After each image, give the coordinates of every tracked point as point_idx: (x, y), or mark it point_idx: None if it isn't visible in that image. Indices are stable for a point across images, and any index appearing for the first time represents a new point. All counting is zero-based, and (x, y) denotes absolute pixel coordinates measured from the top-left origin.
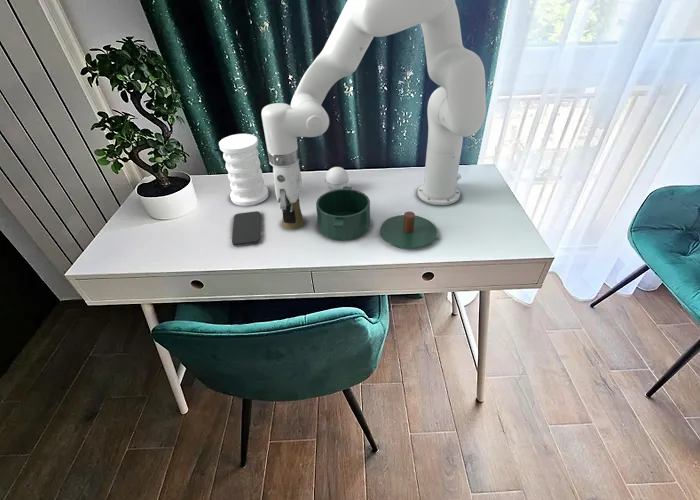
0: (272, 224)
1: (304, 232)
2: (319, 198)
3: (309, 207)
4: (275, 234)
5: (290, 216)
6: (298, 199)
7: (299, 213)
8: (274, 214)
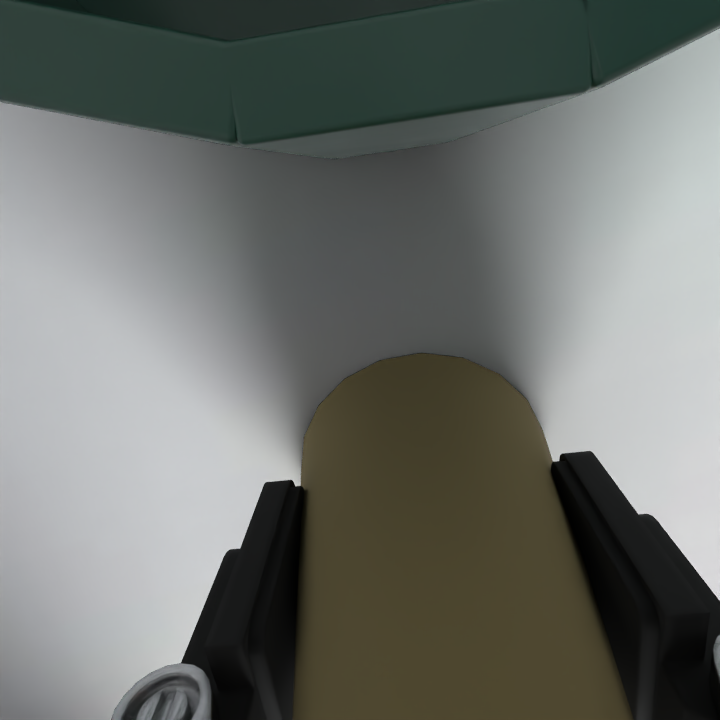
0: None
1: (593, 288)
2: (154, 76)
3: (58, 397)
4: None
5: (697, 582)
6: (238, 646)
7: (478, 470)
8: None
